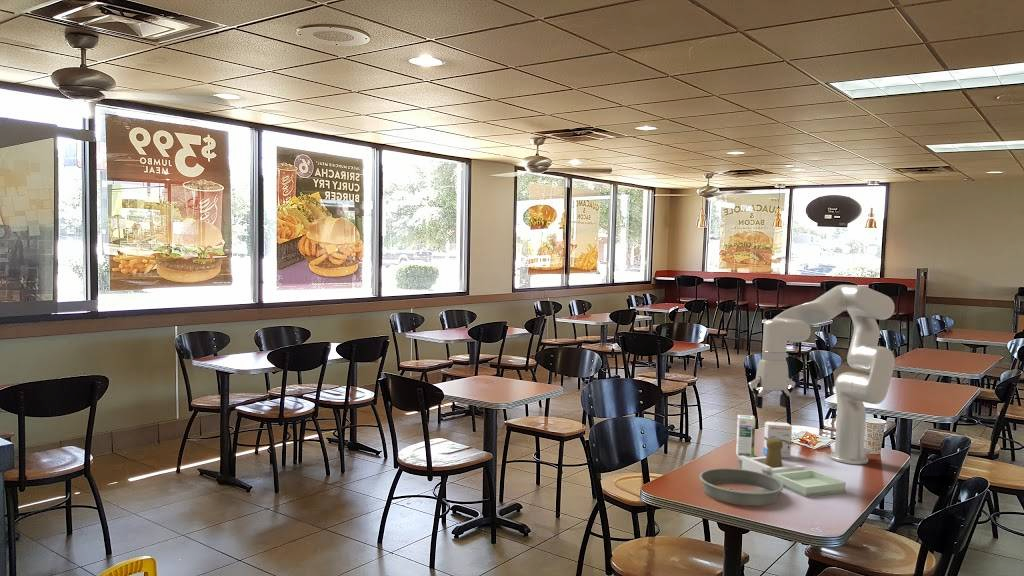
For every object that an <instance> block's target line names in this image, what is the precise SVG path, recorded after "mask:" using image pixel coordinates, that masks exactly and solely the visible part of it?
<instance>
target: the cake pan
mask: <svg viewBox="0 0 1024 576" xmlns="http://www.w3.org/2000/svg"><path fill="white" fill-rule="evenodd" d="M698 477H699V479H700V481H701V482H702V485H703V486H702V487H703V490H704V493H705V494H707V495H708V496H709V497H711V498H713V499H715V500H718V501H721V502H724V501H725V503H728V504H734V505H739V504H740V505H741V506H749V505H753V506H754V505H756V506H767V505H771V504H773V503H775V502H776V501H777V500H778V496H779V494H780V492H781V491H782V490H783V489H784V488H783V487H784V485H783V483H782V482H781V481H779V480H778V479H776V478H774V477H772V476H769V475H766V474H763V473H759V472H755V471H749V470H743V469H740V468H731V467H730V468H729V467H726V468H725V467H724V468H722V467H721V468H711V469H710V468H709V469H706V470H704V471H702V472H701V473H700V474H699V476H698ZM721 482H722V483H734V484H744V485H750V486H754V487H757V488H761V489H763V490H756V489H755V490H753V489H752V490H753V492H741V491H734V490H729V489H730V488H728V489H725V487H721V486H717V485H715V484H719V483H720V484H721Z"/></svg>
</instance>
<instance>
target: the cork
mask: <svg viewBox="0 0 1024 576" xmlns="http://www.w3.org/2000/svg"><path fill="white" fill-rule="evenodd" d="M766 445H767V448H768V450H767V456H766V455H765V456H766V461H765V465H767V466H770V467H772V468H777V467H783V463H782V462H783V460H782V457H781V449H782V447H783V444H782V441H781V440H779V439H774V438H771V439H768V440H767V442H766Z"/></svg>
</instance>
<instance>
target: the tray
mask: <svg viewBox="0 0 1024 576" xmlns="http://www.w3.org/2000/svg"><path fill="white" fill-rule="evenodd" d="M773 477H774V478H776V479H778V480H779V481H781V482H782V483H783V485H784V487H783V489H786V490H788V491H790V492H793V493H795V494H798V495H799V496H802V497H804V498H810V497H817V496H825V495H830V494H831V495H832V494H833V495H834V494H839V493H840V494H841V493H846V485H847V483H846V481H843V480H840V479H838V478H835V477H833V476H830V475H828V474H825V473H822V472H820V471H817V470H814V469H813V468H811V469H805V470H801V471H792V472H783V473H775V474H773Z"/></svg>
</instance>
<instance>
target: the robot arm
mask: <svg viewBox="0 0 1024 576" xmlns="http://www.w3.org/2000/svg"><path fill="white" fill-rule="evenodd" d="M895 308H896V307H895V303H894V301H893V299H892V298H891V297H889V295H886V294H884V293H882V292H879V291H877V290H874V289H873V288H869V287H867V286H863V285H858V284H857V285H856V284H839V285H836V286H834V287H832V288H831V289H830V290H828V291H825V292H824V293H823V294H822V295H820V296H819V297H817V298H816V299H814V300H812V301H808V302H805V303H802V304H799V305H796V306H793V307H790V308H787V309H785V310H784V311H782V312H780V313H779V314H777V315H776V316H774V317H773V318H772V319H767V320H765V321H764V322H763V330H762V331H763V334H762V349H761V350H762V351H761V359H760V360H759V361H758V364H757V367H756V375H755V378H754V379H753V380H751V381H750V382H748V385H749V388H750V391H751V392H752V393H753V395H754V407H755V408H756V409H757V408H758V409H763V398H764V397H763V396H762V395H763V394H764V393H765V392H776V391H777V392H779V391H780V393H781V394H780V395H779V396H780V397H779V398H780V399H779V406H780V407H782V408H786V409H787V408H788V404H789V397H790V396H791V393H792V392H793V391H794V388H795V386H796V382H795V381H793V380H792V379H790V378H789V366H788V361H787V360H786V359H787V358H788V357H789V353H787V346H788V345H787V342H794V343H803V342H805V341H807V340H808V339H809V338H810V336H811V332H812V329H811V326H810V325H818V324H823V323H828V322H829V321H831V320H832V319H834V318H835V317H837V316H838V315H840V314H841V313H843V312H844V311H847V313H848V314H849V316H850V318H851V321H852V323H853V324H852V325H853V332H852V336H851V340H850V345H849V347H848V352H847V357H846V360H847V361H846V362H847V364H848V366H849V367H850V368H852V369H855V370H860V371H863V372H868V373H869V374H863V373H859V372H853V371H845V372H842V373H840V374H839V375H838V376H837V377H836V379H835V382H834V387H835V394H836V396H835V397H836V420H835V421H836V422H835V437H834V439H835V440H834V441H835V442H834V451H833V452H831V453H829V458H830V459H831V460H833V461H836V462H838V463H843V464H849V465H850V464H851V465H866V464H868V462H869V458H868V457H866V455H869V454H873V453H874V450H873V448H871V447H869V448H867V447H865V436H866V435H865V434H866V423H867V422H866V420H867V419H866V418H867V410H866V407H865V404H870V405H878V404H881V403H883V402H884V400H885V399H886V397H887V394H888V392H889V388H890V384H891V381H892V376H893V373H894V369H895V363H896V361H895V355H894V353H893V351H891V349H890V348H888V347H885V346H881V345H879V344H878V343H879V338H880V335H881V333H880V332H881V331H880V326H879V324H878V323H877V321H876V320H883V321H884V320H887V319H889V318H891V317H892V316H893V315H894V313H895ZM864 403H865V404H864Z"/></svg>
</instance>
